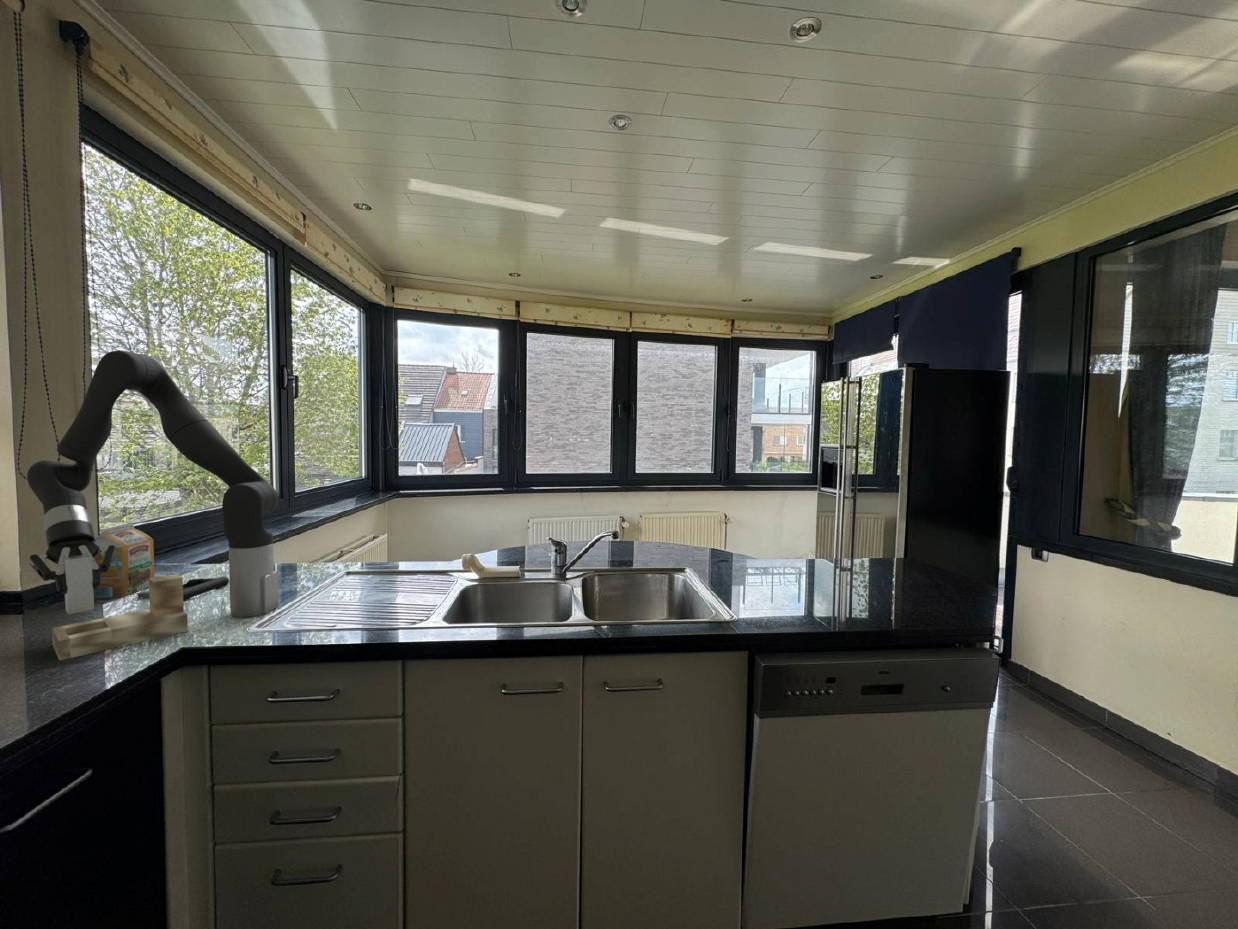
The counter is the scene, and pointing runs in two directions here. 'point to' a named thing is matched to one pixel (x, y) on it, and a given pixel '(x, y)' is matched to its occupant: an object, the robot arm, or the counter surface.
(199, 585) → the door handle
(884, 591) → the counter surface
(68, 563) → the square post
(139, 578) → the milk carton
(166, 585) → the post base
